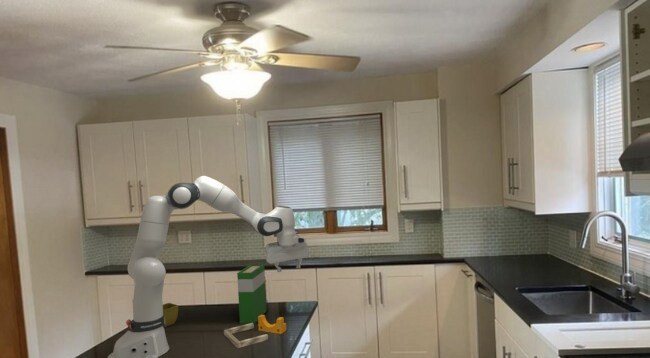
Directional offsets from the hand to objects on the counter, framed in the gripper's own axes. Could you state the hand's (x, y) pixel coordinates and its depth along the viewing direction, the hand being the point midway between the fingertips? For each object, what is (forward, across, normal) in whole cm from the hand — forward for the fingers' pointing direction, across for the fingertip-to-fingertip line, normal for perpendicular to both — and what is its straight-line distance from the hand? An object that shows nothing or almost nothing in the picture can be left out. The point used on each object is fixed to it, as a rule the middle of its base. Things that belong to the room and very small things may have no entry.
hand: (289, 269), depth 185 cm
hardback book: (+25, -13, +20) cm, 35 cm away
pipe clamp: (+25, -11, -2) cm, 28 cm away
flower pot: (+24, -52, +34) cm, 67 cm away
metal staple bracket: (+24, -24, -3) cm, 34 cm away
